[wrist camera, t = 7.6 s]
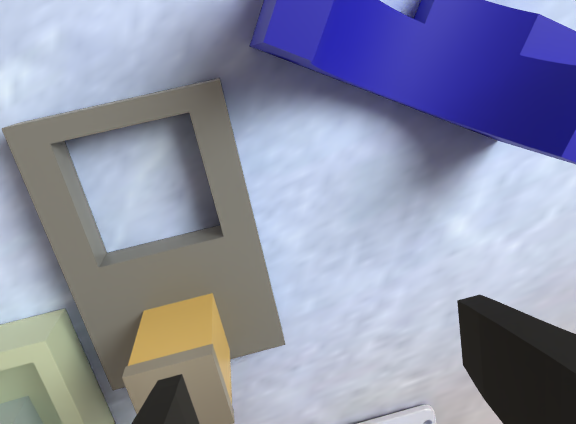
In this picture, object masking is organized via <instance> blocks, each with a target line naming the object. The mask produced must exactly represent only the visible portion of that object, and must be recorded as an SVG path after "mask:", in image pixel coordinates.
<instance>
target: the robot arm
mask: <svg viewBox="0 0 576 424" xmlns="http://www.w3.org/2000/svg"><path fill="white" fill-rule="evenodd" d="M458 313H459V324H460V336H461V347H462V359H463V366H464V367H465V369H466V371H467V372H468V374H469V376H470V377H471V379H472V381H473V382H474V384H475V386H476V387H477V389H478V390H479V392H480V393H481V395H482V397H483V398H484V400H485V401H486V402H487V403H488V405H489V406H490V407H491V409H492V410H493V411H494V412H495V414H496V415H497V416H498V417H499V419H500V420H501V421H502V423H503V424H576V334H574V333H571V332H569V331H566V330H564V329H561V328H559V327H556V326H554V325H551V324H549V323H546V322H544V321H542V320H539V319H537V318H535V317H532V316H530V315H528V314H525V313H523V312H521V311H518V310H516V309H514V308H511V307H509V306H507V305H504V304H502V303H500V302H497V301H495V300H493V299H490V298H487V297H485V296H482V295H477V296H473V297H469V298H465V299H462V300H458ZM426 420H427V421H426ZM424 421H426V422H424ZM132 424H200V423H199V420H198V418H197V415H196V412H195V409H194V406H193V403H192V401H191V398H190V395H189V392H188V389H187V386H186V384H185V381H184V378H183V375H182V374H180V375H176V376H172V377H169V378H165V379H161V380H158V381H157V382H156V384H155V386H154V387H153V389H152V390H151V392H150V394H149V395H148V397H147V399H146V400H145V402H144V404H143V405H142V407H141V409H140V410H139V412H138V414H137V415H136V417H135V419H134V420H133V422H132ZM357 424H436V418H435V412H434V410H433V409H432V407H431V406H430V405H421V406H418V407H414V408H410V409H407V410H403V411H400V412H396V413H393V414H389V415H386V416H382V417H378V418H375V419H371V420H368V421H364V422H361V423H357Z"/></svg>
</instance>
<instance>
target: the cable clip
mask: <svg viewBox="0 0 576 424" xmlns="http://www.w3.org/2000/svg"><path fill="white" fill-rule="evenodd" d="M250 47H253V48H255V49H258V50H261V51H263V52H266V53H269V54H271V55H274V56H276V57H279V58H282V59H284V60H287V61H290V62H292V63H295V64H298V65H300V66H303V67H305V68H308V69H311V70H313V71H316V72H319V73H321V74H324V75H326V76H329V77H332V78H334V79H337V80H340V81H342V82H345V83H348V84H350V85H353V86H355V87H358V88H361V89H363V90H366V91H369V92H371V93H374V94H377V95H379V96H382V97H384V98H387V99H390V100H392V101H395V102H398V103H400V104H403V105H406V106H408V107H411V108H413V109H416V110H419V111H421V112H424V113H427V114H429V115H432V116H434V117H437V118H440V119H442V120H445V121H448V122H450V123H453V124H456V125H458V126H461V127H463V128H466V129H469V130H471V131H474V132H477V133H479V134H482V135H485V136H487V137H490V138H492V139H495V140H498V141H501V142H504V143H508V144H511V145H514V146H517V147H521V148H524V149H527V150H531V151H534V152H537V153H540V154H544V155H547V156H550V157H554V158H557V159H560V160H564V161H567V162H570V163H573V164H576V31H574V30H572V29H570V28H568V27H566V26H563V25H561V24H559V23H557V22H555V21H553V20H551V19H549V18H546V17H544V16H542V15H540V14H537V13H532V12H527V11H522V10H518V9H514V8H510V7H506V6H502V5H499V4H495V3H492V2H488V1H485V0H421V2H420V4H419V7H418V9H417V12H416V14H415V17H414V19H413V18H410V17H408V16H406V15H404V14H402V13H400V12H398V11H397V10H395V9H393V8H391V7H389V6H388V5H386V4H384V3H383V2H381V1H379V0H264V2H263V5H262V8H261V11H260V15H259V18H258V21H257V24H256V27H255V31H254V34H253V37H252V40H251V43H250Z"/></svg>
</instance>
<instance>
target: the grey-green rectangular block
mask: <svg viewBox="0 0 576 424" xmlns="http://www.w3.org/2000/svg"><path fill="white" fill-rule="evenodd" d="M0 424H43V422H42V420H41V418H40V416H39V415H38V413H37V411H36V409H35V407H34V405H33V404H32V402H31V400H30V398H29V396H26V397H22V398H19V399H15V400H12V401H8V402H5V403H1V404H0Z"/></svg>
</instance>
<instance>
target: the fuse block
mask: <svg viewBox="0 0 576 424" xmlns="http://www.w3.org/2000/svg"><path fill="white" fill-rule="evenodd" d="M184 113H190V117H191V121H192V124H193V128H194V132H195V135H196V139H197V142H198V146H199V150H200V153H201V157H202V160H203V164H204V168H205V171H206V175H207V178H208V182H209V186H210V189H211V193H212V196H213V200H214V204H215V207H216V211H217V214H218V218H219V222H220V225H219V226H215V227H211V228H207V229H202V230H198V231H194V232H190V233H186V234H182V235H178V236H174V237H170V238H166V239H162V240H158V241H154V242H149V243H145V244H141V245H137V246H133V247H129V248H125V249H121V250H117V251H113V252H109V253H107V252H106V249H105V246H104V244H103V241H102V238H101V236H100V233H99V230H98V228H97V225H96V223H95V220H94V217H93V215H92V212H91V209H90V207H89V204H88V201H87V199H86V196H85V194H84V191H83V188H82V186H81V183H80V180H79V178H78V175H77V173H76V170H75V167H74V165H73V162H72V159H71V157H70V154H69V151H68V149H67V146H66V144H65V140H70V139H74V138H79V137H83V136H87V135H92V134H96V133H101V132H105V131H109V130H114V129H118V128H123V127H127V126H131V125H136V124H140V123H145V122H149V121H153V120H158V119H162V118H167V117H171V116H176V115H180V114H184ZM2 131H3V133H4V136H5V138H6V140H7V143H8V145H9V147H10V150H11V152H12V154H13V157H14V159H15V162H16V164H17V166H18V169H19V171H20V173H21V176H22V178H23V180H24V183H25V185H26V187H27V190H28V192H29V194H30V197H31V199H32V202H33V204H34V206H35V209H36V211H37V213H38V216H39V218H40V220H41V223H42V225H43V227H44V230H45V232H46V235H47V237H48V239H49V242H50V244H51V246H52V249H53V251H54V253H55V256H56V258H57V260H58V263H59V265H60V268H61V270H62V272H63V275H64V277H65V279H66V282H67V284H68V286H69V289H70V291H71V293H72V296H73V298H74V300H75V303H76V305H77V308H78V310H79V312H80V315H81V317H82V319H83V322H84V324H85V326H86V329H87V331H88V333H89V336H90V338H91V341H92V343H93V345H94V348H95V350H96V352H97V355H98V357H99V359H100V362H101V364H102V366H103V369H104V371H105V374H106V376H107V378H108V381H109V383H110V385H111V388H112V390H116V389H120V388H124V387H126V389H127V391H128V394H129V396H130V399H131V401H132V404H133V406H134V408H135V411H136V413H137V414H138V412H139V410H140V409H141V407H142V405H143V404H144V402H145V400H146V399H147V397H148V395H149V394H150V392H151V390H152V389H153V387H154V386H155V384H156V382H157V381H158V380H161V379H165V378H169V377H172V376H176V375H180V374H182V375H183V378H184V381H185V384H186V386H187V389H188V392H189V395H190V398H191V401H192V403H193V406H194V409H195V412H196V415H197V418H198V420H199V423H200V424H233V423H234V410H233V407H232V393H231V369H230V359H233V358H237V357H241V356H244V355H248V354H252V353H256V352H259V351H263V350H267V349H271V348H274V347H278V346H282V345H285V341H284V336H283V332H282V328H281V324H280V320H279V316H278V312H277V308H276V304H275V300H274V296H273V292H272V288H271V284H270V280H269V276H268V271H267V267H266V263H265V259H264V255H263V251H262V247H261V243H260V239H259V235H258V231H257V227H256V223H255V219H254V215H253V211H252V207H251V203H250V199H249V195H248V191H247V187H246V183H245V179H244V175H243V171H242V167H241V163H240V159H239V155H238V151H237V147H236V143H235V139H234V135H233V131H232V127H231V122H230V118H229V114H228V110H227V106H226V102H225V98H224V94H223V90H222V86H221V82H220V78H218V79H213V80H209V81H204V82H200V83H195V84H191V85H186V86H182V87H177V88H173V89H168V90H164V91H159V92H155V93H150V94H146V95H141V96H137V97H132V98H128V99H123V100H119V101H114V102H110V103H105V104H101V105H97V106H92V107H88V108H83V109H79V110H74V111H70V112H65V113H61V114H56V115H52V116H47V117H43V118H38V119H34V120H29V121H25V122H20V123H17V124H14V125H11V126H8V127H5V128H2Z"/></svg>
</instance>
